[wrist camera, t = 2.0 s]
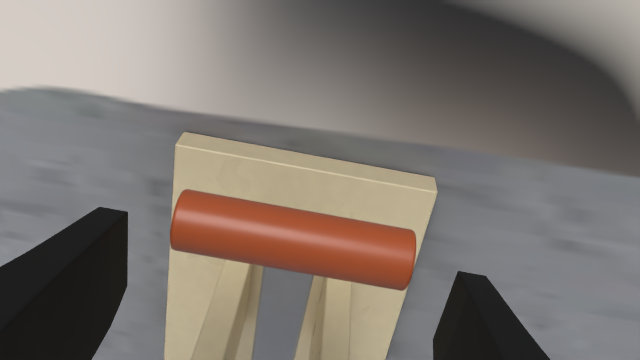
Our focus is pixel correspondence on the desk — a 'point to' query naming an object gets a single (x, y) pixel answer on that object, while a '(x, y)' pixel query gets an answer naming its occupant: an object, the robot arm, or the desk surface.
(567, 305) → the desk surface
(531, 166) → the desk surface
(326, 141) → the desk surface
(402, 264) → the lever
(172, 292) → the bracket
